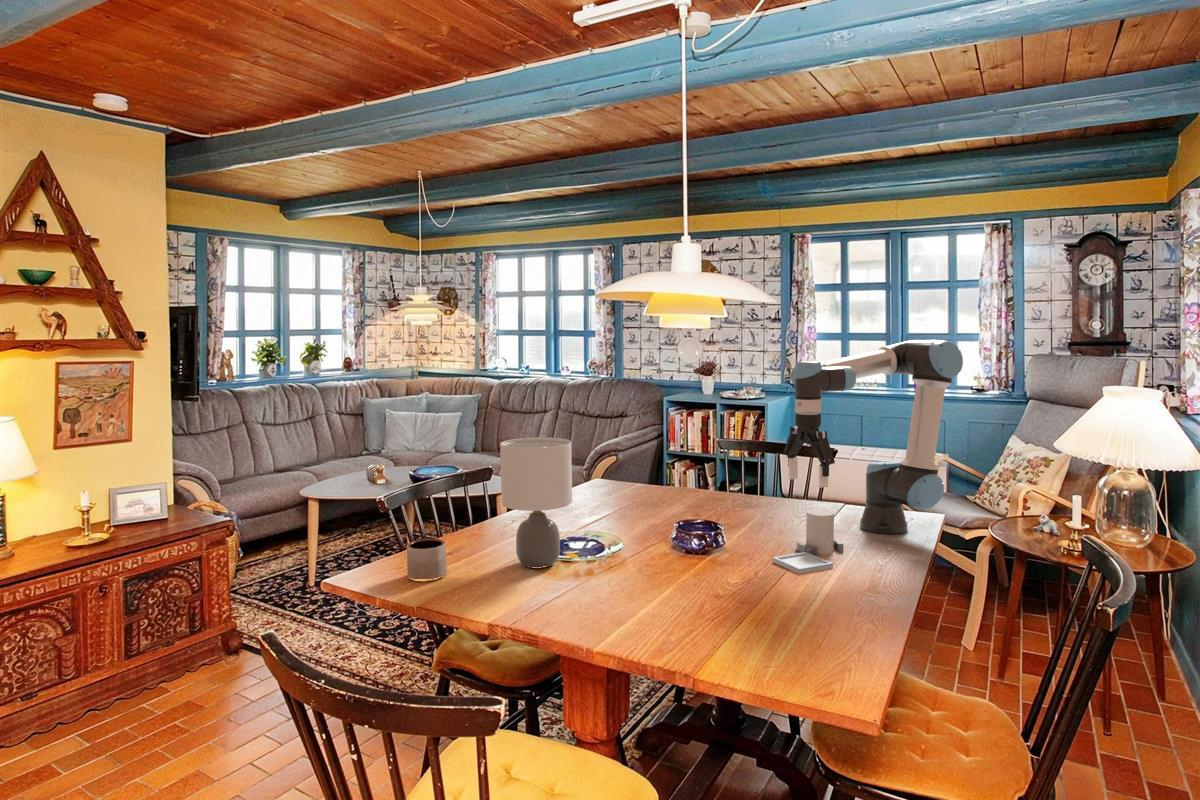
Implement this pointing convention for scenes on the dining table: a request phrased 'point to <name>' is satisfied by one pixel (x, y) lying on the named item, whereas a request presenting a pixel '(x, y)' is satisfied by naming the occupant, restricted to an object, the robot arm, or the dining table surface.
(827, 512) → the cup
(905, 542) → the dining table surface
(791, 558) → the tray
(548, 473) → the lamp
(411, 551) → the planter
